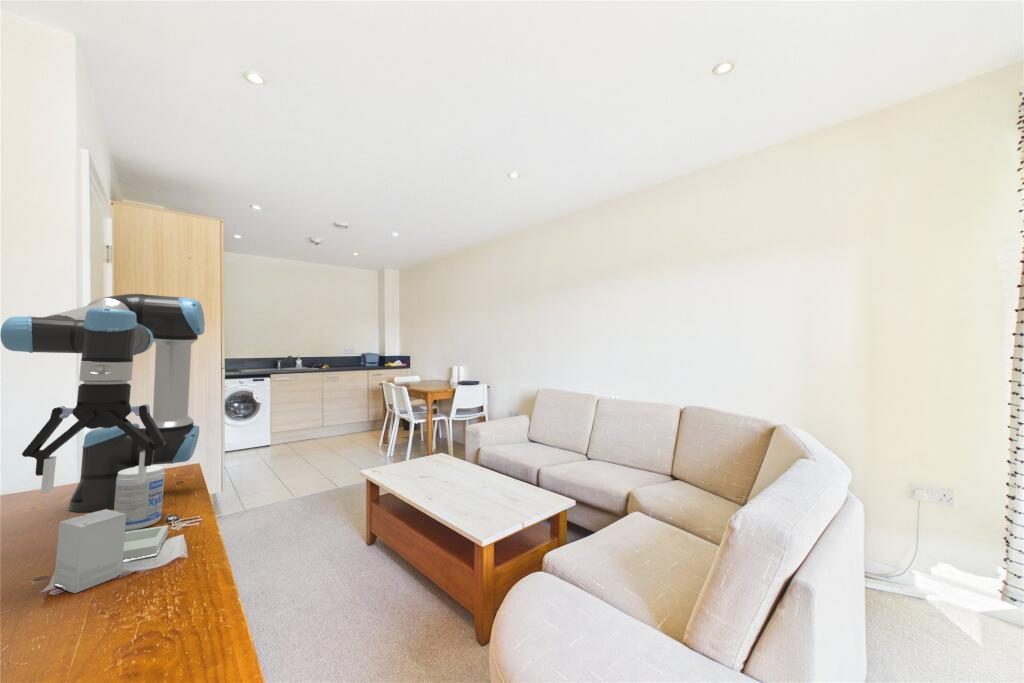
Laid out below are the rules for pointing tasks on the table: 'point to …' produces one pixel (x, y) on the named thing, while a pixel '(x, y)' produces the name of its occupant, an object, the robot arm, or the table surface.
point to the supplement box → (90, 550)
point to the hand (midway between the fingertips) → (96, 486)
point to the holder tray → (144, 541)
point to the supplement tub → (140, 496)
